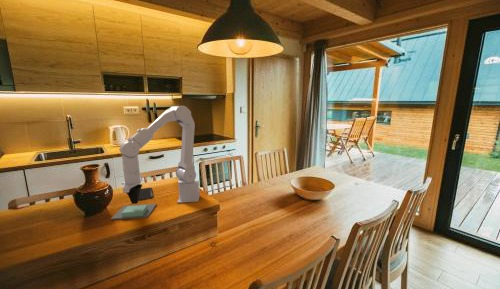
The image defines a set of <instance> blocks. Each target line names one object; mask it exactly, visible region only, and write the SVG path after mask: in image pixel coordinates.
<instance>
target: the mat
mask: <svg viewBox="0 0 500 289" xmlns="http://www.w3.org/2000/svg"><path fill="white" fill-rule="evenodd" d="M140 205H141V204H131V205H122V207H121V208H120V209H119V210H118V211H117V212H116V213H115V214H114V215H113V216H112V217H111V218H110V220H111V221H116V220H127V219H128V220H133V219H145V218H146V219H147V218H149V217H150V216H151V214H152V212H153V211H154V210H155V208H156V207H157V203H148V204H147V203H146V204H144V205H147V206H148V210H147V211H146V213H145V214H144V215H143V216H135V217H122V212H123V211H124V210H125V209H126V207H127V206H140Z"/></svg>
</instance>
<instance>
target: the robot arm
mask: <svg viewBox="0 0 500 289" xmlns="http://www.w3.org/2000/svg"><path fill="white" fill-rule="evenodd" d="M170 122H177V123H178V124H179V125H180V127H182V133H181V147H180V161H179V162H178V164H177V168H176V169H175V176H176V178H177V179H178V181H177V183H178V194H179V195H178V199H177V202H176V203H179V204H180V203H181V204H182V203H196V202H197V203H198V202H199V199H200V197H201V191H200V181H199V180H196V178H197V172H196V167H195V164H194V162H193V156H194V144H195V142H194V141H195V127H196V126H195V125H196V124H195V121H194V118H193V116H192V111H191V110H190V109H189V108H188V107H187V106H185V105H172V106H170V107H169V108H167V109H166V110H165V111H163V113H161V114H160V115H159V116H158V118H156V119H155V120H154V121H153V122H152V123H151V124H150V125H149V126H148V127H142V128H141V129H140V128H138V129H137V130H136V133H134V134H133V135H132V136H131V137H128V138H126V139H127V141H123V142H122V143H121V145H120V147H119V153H120V154H121V158H122V170H123V180H124V181H122V182H121V185H123V187H122V193H123V194H124V193H126V195H127V196H128V198H129V201H130V203H131V205H138V203H139V201H138V200H139V193H140V190H141V189H142V187H143V184H141V183H142V181H143V179H142V176H141V173H140V172H141V171H140V162H139V156H138V155H139V154H140V149H142V148H143V147H145V146H146V145H147V144H148V143H149V142H150V141H151V140H153V139H154V133H156V132H157V131H159V129H161V128H162V127H164V125H166V124H167V123H170Z"/></svg>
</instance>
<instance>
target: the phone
mask: <svg viewBox="0 0 500 289" xmlns="http://www.w3.org/2000/svg"><path fill="white" fill-rule="evenodd" d="M153 198H154V193H153V188H152V187H145V188H141V190H140V193H139V200H138V202H139V201H145V200H151V199H153Z"/></svg>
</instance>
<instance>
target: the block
mask: <svg viewBox="0 0 500 289" xmlns="http://www.w3.org/2000/svg"><path fill="white" fill-rule="evenodd" d="M139 205H140V206H129V205H126V206H127V207H126V209H125V210H124V211H123V212H122V217H135V216H143V215H144V214H145V213H146V211H147V210H148V206H147V205H145V204H139Z"/></svg>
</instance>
